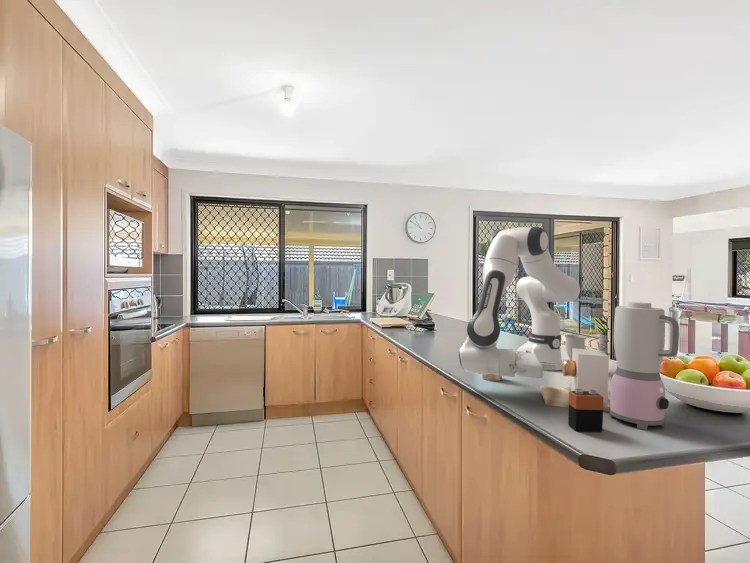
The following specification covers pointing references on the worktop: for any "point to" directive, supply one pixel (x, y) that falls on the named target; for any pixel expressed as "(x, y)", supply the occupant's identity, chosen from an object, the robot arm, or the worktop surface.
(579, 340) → the chalice
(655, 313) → the blender
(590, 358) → the switch box
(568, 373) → the knob
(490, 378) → the figurine
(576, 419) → the battery
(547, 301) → the robot arm
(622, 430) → the worktop surface
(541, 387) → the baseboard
